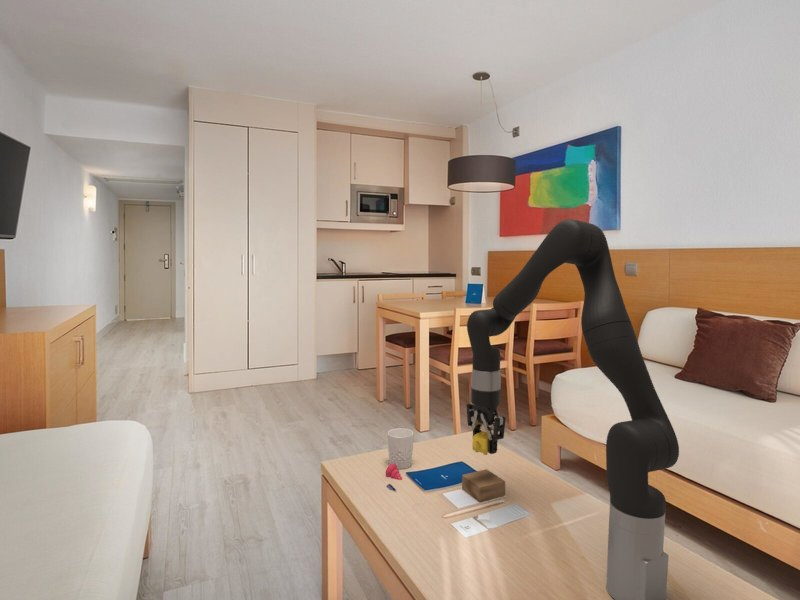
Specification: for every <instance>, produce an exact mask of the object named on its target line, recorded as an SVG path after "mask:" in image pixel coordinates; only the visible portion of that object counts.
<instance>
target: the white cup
mask: <svg viewBox="0 0 800 600" xmlns="http://www.w3.org/2000/svg"><path fill="white" fill-rule="evenodd" d="M414 434H415V432H414V431H413V430H411V429H410V428H405V427H404V428H402V427H401V428H400V427H397V428H396V427H395V428H392V429H389V430H388V431H387V450H388V459H389V460H388V461H389V465H390V464H391V463H394V464H396V465H397V470H403V469H405V470H406V469H408V468H411V466H412V464H413V454H414V452H413V450H414V449H413V448H414Z"/></svg>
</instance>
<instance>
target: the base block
mask: <svg viewBox="0 0 800 600" xmlns="http://www.w3.org/2000/svg"><path fill="white" fill-rule="evenodd" d="M461 489H462V490H464V491H465V492H466V493H468V494H469V495H470V496H471V497H473V498H474V499H475V500H477V501H478V502H479V503H481V502H484V503H486V502H485V501H488V500H492V499H495V500H497V499H496V498H499V497H503V496H506V481H505V480H504V479H502V478H501V477H500V476H498V475H497V474H494V473H493V472H492V471H490V470H489V469H482V470H477V471H473V472H469V473H465V474H464V473H463V474H462V475H461ZM462 490H461V491H462ZM465 492H464V493H465ZM466 493H465V494H466ZM469 495H468V496H469ZM470 496H469V497H470ZM471 497H470V498H471ZM503 498H504V497H503ZM474 499H473V500H474ZM499 499H500V498H499ZM475 500H474V501H475ZM492 501H493V500H492ZM478 502H477V503H478ZM488 502H489V501H488ZM479 503H478V504H479ZM481 504H482V503H481Z"/></svg>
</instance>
